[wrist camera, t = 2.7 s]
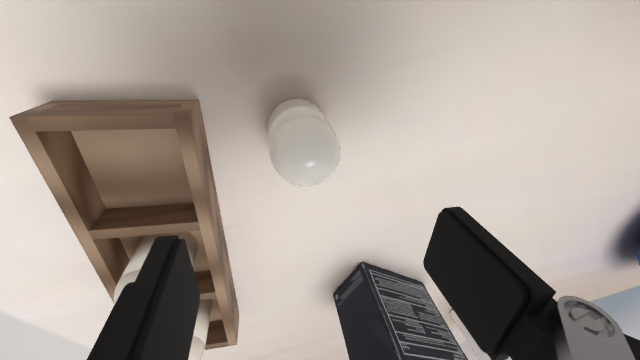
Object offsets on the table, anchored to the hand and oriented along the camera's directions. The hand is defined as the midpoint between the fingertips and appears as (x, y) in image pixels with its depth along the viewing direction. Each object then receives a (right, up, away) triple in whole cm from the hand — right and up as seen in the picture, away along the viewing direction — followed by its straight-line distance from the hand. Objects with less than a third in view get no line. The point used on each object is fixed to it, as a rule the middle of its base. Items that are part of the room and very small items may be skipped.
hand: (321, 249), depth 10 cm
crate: (-13, -3, +14) cm, 19 cm away
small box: (+7, -11, +23) cm, 26 cm away
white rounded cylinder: (-2, +7, +10) cm, 13 cm away
